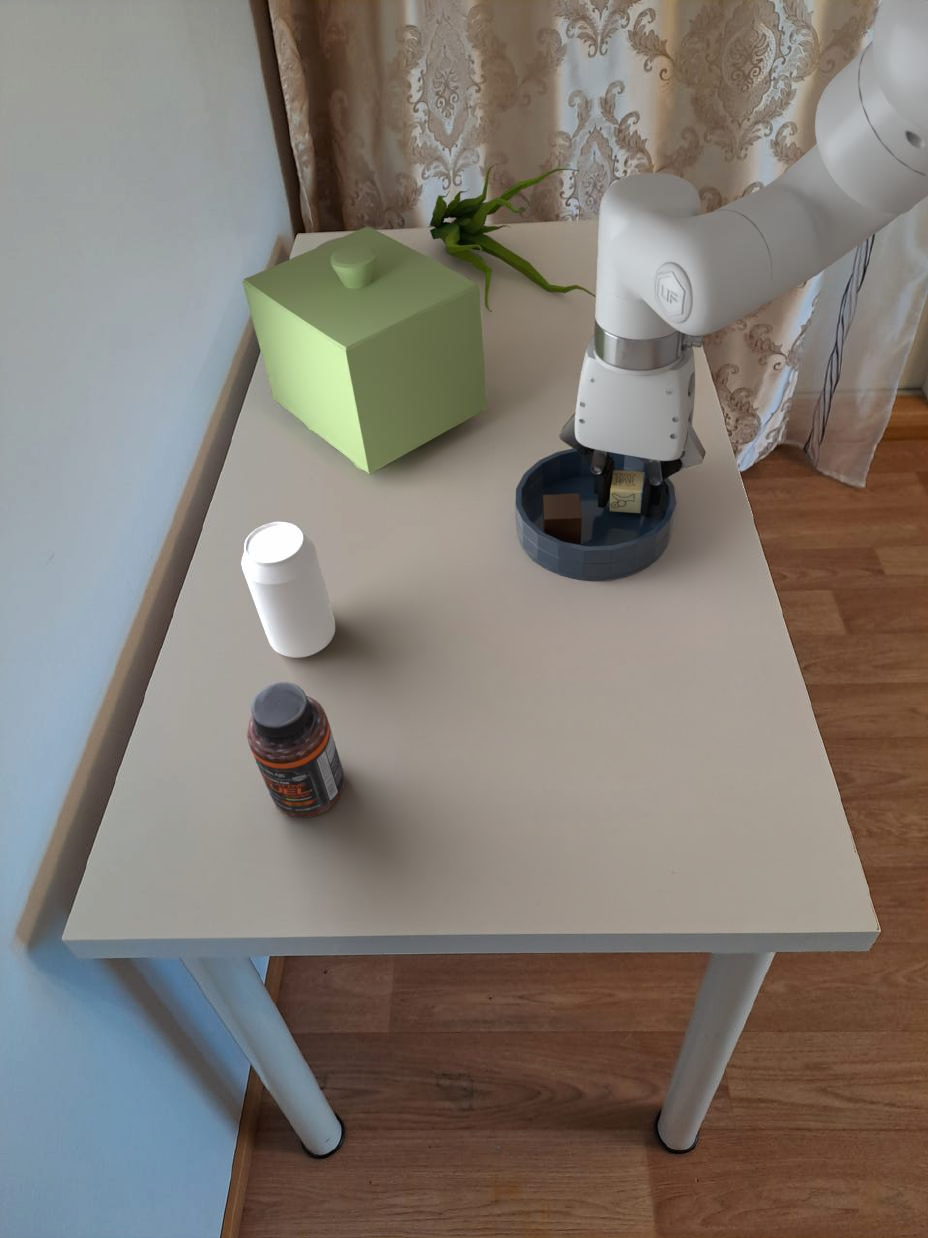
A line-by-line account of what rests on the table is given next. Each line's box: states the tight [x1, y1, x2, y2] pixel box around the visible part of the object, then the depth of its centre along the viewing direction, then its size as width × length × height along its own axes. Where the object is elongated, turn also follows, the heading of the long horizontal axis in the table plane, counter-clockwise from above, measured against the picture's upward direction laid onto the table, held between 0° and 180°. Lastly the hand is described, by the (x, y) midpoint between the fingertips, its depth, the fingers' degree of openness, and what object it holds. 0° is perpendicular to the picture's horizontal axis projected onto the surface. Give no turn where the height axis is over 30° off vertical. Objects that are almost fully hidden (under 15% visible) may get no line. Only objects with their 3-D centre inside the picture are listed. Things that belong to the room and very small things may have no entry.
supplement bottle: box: [246, 681, 345, 818], centre depth 68 cm, size 6×6×11 cm
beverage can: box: [241, 521, 336, 658], centre depth 78 cm, size 6×6×12 cm
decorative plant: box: [429, 163, 596, 313], centre depth 118 cm, size 18×30×15 cm, turn 12°
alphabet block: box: [610, 470, 645, 513], centre depth 88 cm, size 3×3×3 cm
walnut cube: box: [543, 494, 582, 545], centre depth 87 cm, size 4×4×4 cm
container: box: [242, 226, 488, 475], centre depth 97 cm, size 19×16×20 cm
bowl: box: [514, 447, 677, 582], centre depth 88 cm, size 15×15×4 cm
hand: (626, 501), depth 89 cm, fingers closed on alphabet block, 3 cm apart
